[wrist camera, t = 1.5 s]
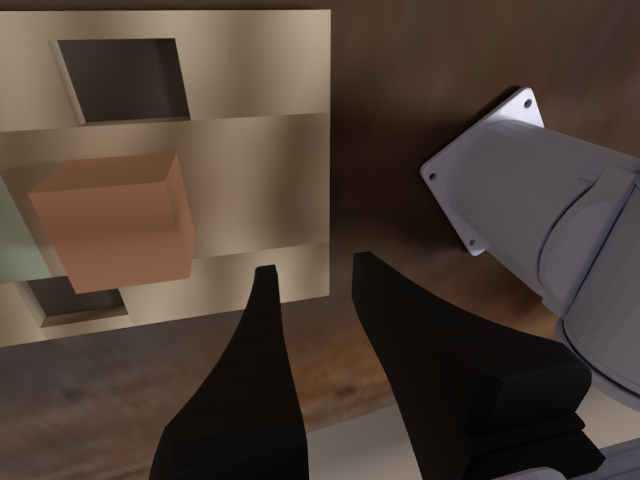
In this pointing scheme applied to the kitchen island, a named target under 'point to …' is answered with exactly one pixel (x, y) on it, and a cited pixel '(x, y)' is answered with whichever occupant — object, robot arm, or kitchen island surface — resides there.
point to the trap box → (168, 137)
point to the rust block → (118, 220)
